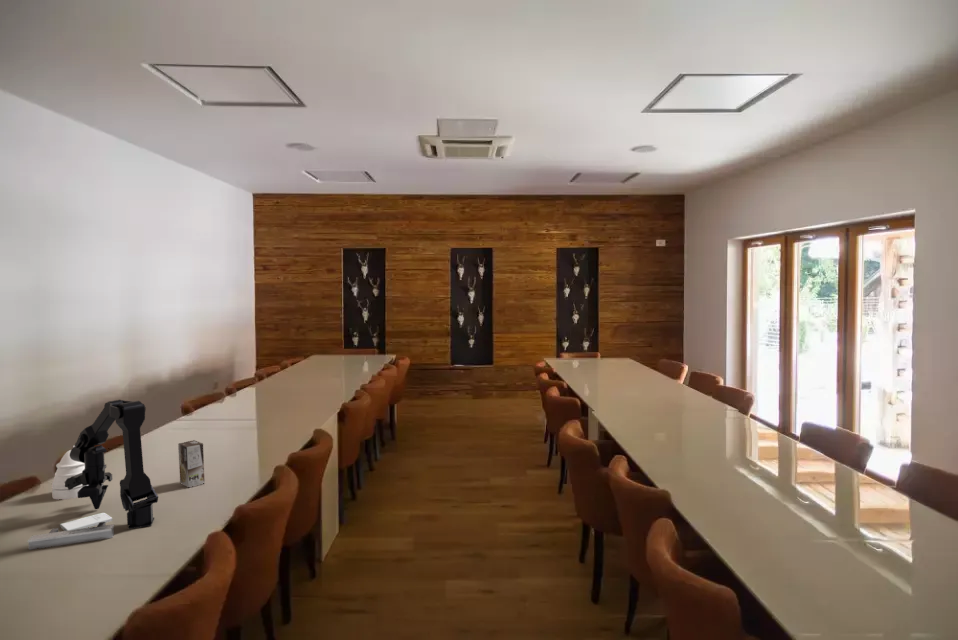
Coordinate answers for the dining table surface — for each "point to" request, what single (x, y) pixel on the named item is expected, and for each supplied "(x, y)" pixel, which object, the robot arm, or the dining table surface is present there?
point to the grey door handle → (71, 536)
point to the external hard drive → (86, 522)
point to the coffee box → (191, 463)
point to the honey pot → (63, 472)
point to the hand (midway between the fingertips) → (97, 508)
